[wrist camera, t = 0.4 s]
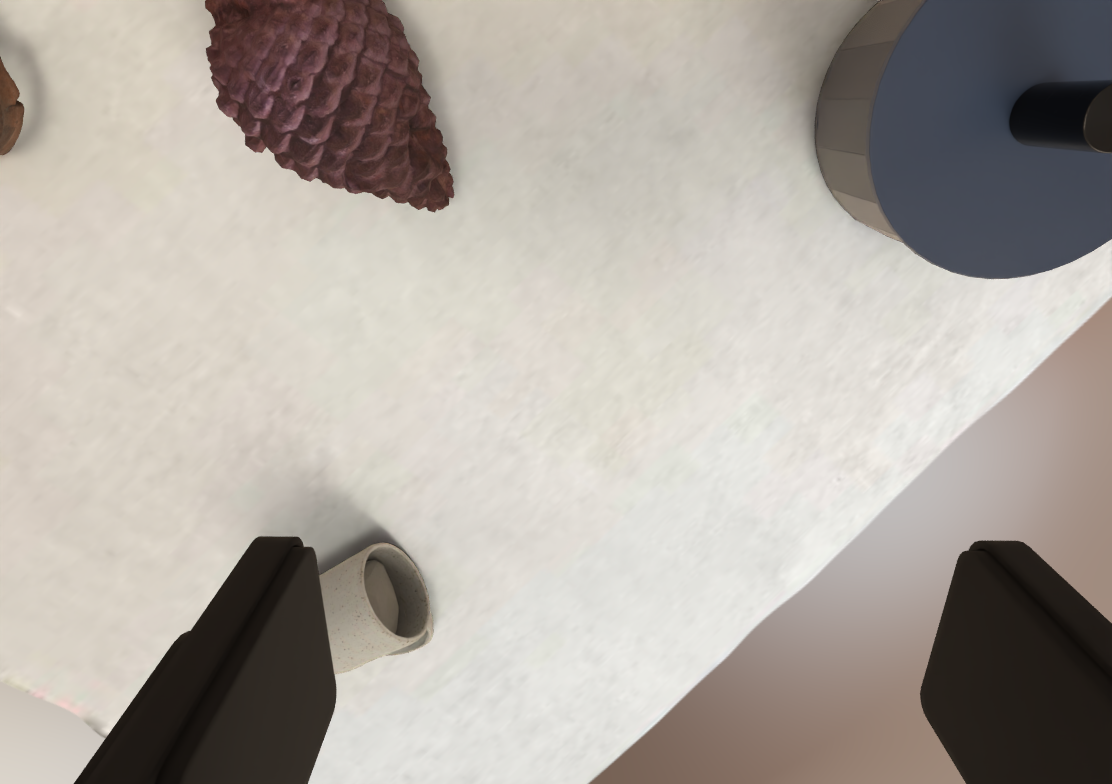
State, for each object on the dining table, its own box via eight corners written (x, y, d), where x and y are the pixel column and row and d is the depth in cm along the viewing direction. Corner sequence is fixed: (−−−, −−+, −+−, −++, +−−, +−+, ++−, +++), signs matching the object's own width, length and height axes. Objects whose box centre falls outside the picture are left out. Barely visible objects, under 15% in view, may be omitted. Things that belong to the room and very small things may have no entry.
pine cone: (525, 128, 41) (469, 236, 35) (416, 190, 47) (354, 291, 41) (289, -188, 31) (158, -111, 25) (191, -59, 37) (68, 27, 31)
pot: (769, 78, 40) (821, 73, 32) (1019, -99, 36) (1146, -153, 29) (875, 283, 45) (943, 322, 37) (1105, 143, 41) (1234, 154, 33)
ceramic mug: (297, 570, 53) (259, 644, 46) (378, 521, 52) (351, 590, 45) (384, 655, 57) (361, 735, 50) (462, 612, 55) (450, 688, 48)
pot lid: (804, 69, 32) (856, 62, 27) (1141, -166, 29) (1282, -230, 23) (934, 330, 38) (1000, 370, 32) (1234, 157, 34) (1368, 168, 28)
